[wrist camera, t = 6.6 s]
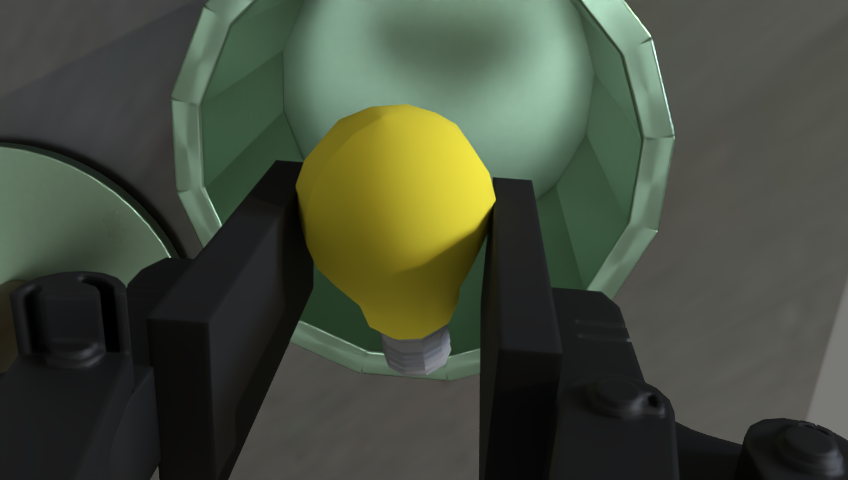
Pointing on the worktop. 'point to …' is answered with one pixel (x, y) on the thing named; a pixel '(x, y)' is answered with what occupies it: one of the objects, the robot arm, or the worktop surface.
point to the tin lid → (66, 227)
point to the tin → (454, 100)
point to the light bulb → (397, 223)
